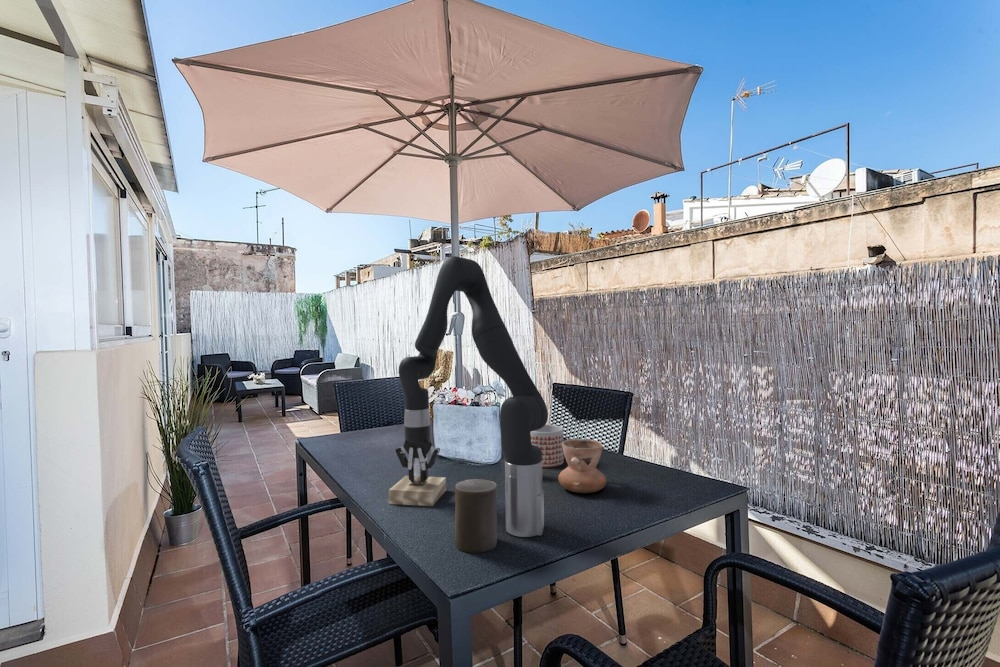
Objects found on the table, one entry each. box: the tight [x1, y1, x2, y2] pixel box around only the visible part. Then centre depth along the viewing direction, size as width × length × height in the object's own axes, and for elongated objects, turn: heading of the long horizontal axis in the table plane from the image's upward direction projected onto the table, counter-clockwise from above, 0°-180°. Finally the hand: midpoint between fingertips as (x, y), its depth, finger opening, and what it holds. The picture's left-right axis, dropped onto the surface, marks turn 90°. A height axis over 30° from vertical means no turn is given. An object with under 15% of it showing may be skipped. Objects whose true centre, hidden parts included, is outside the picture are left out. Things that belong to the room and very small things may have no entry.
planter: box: [530, 423, 565, 469], centre depth 175 cm, size 14×14×13 cm
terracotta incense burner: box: [557, 438, 607, 494], centre depth 147 cm, size 18×14×14 cm
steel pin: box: [413, 457, 424, 486], centre depth 142 cm, size 3×3×10 cm
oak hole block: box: [388, 475, 447, 507], centre depth 142 cm, size 13×13×4 cm
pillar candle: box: [454, 478, 498, 554], centre depth 111 cm, size 10×10×15 cm
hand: (418, 481), depth 142 cm, fingers closed on steel pin, 2 cm apart
